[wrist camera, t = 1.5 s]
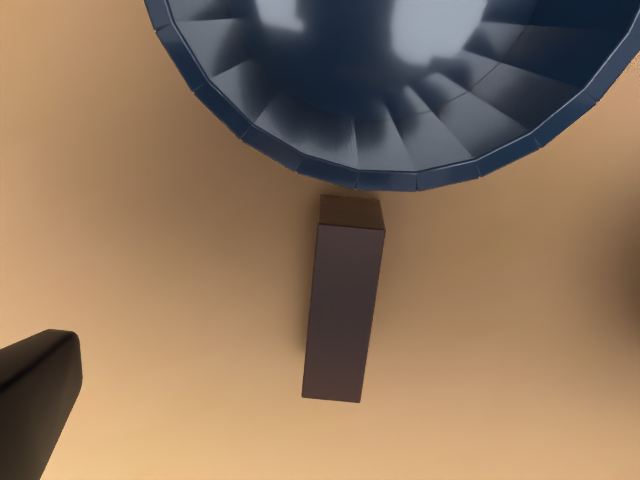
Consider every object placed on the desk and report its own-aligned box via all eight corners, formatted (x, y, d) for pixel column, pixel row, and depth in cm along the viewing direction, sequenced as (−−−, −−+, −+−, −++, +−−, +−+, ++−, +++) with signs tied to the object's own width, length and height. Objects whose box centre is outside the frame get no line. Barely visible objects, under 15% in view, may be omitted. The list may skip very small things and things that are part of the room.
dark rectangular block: (357, 356, 23) (360, 403, 20) (306, 351, 23) (301, 398, 20) (379, 199, 20) (386, 230, 17) (321, 194, 20) (317, 223, 17)
